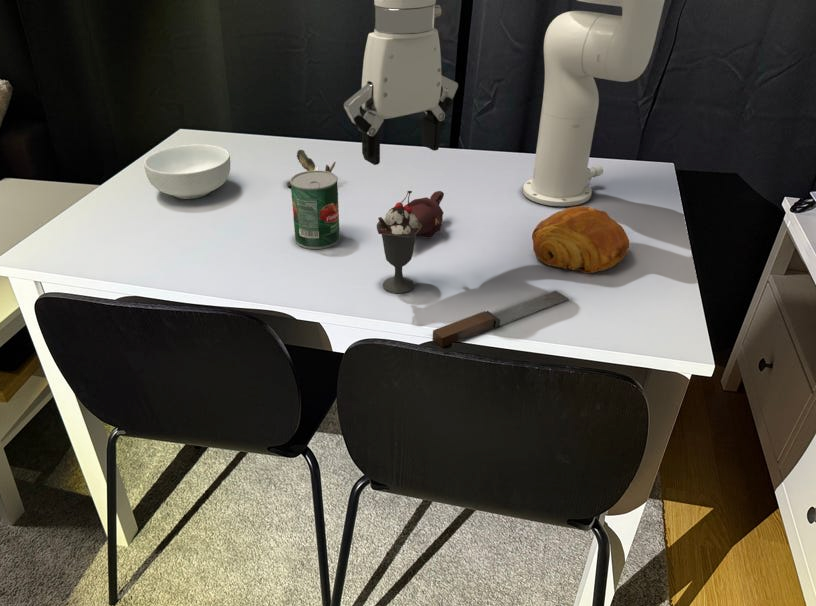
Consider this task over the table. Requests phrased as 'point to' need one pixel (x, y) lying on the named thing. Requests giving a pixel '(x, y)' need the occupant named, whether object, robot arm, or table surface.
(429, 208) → the icecream
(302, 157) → the eagle figurine
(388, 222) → the sundae
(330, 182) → the canned tomato
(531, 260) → the table surface
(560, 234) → the croissant
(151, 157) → the cereal bowl
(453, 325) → the knife
